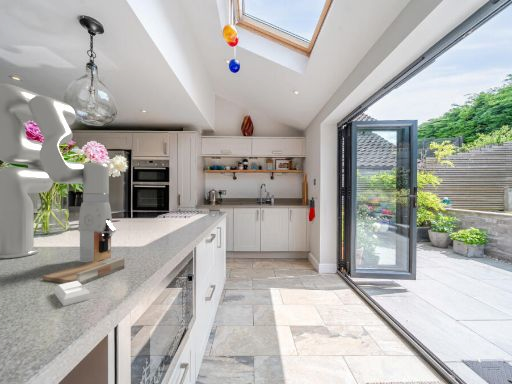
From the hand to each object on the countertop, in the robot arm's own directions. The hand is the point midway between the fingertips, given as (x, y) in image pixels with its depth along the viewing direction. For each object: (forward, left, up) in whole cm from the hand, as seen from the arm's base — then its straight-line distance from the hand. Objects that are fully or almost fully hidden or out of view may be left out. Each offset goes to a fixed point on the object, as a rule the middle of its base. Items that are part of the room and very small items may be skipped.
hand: (96, 250), depth 90 cm
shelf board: (+9, -12, -3) cm, 16 cm away
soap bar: (+20, -25, -4) cm, 32 cm away
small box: (0, 0, -3) cm, 3 cm away
